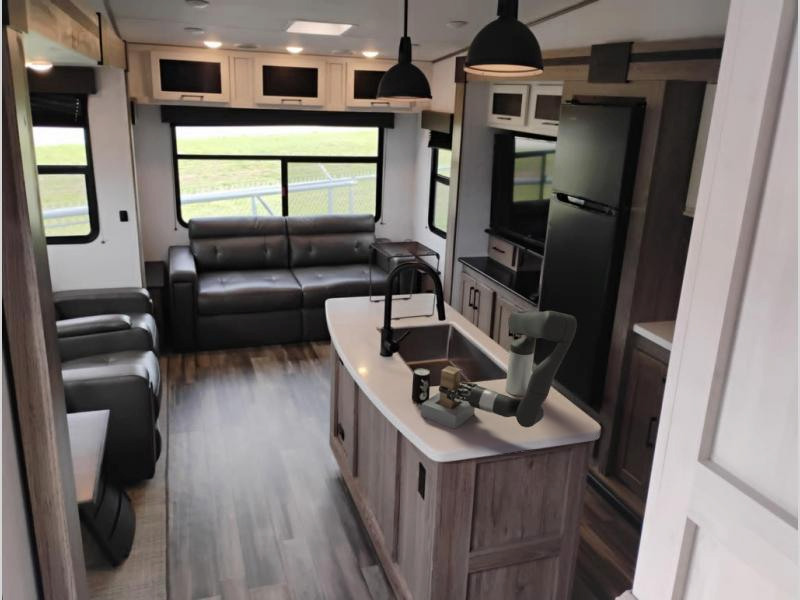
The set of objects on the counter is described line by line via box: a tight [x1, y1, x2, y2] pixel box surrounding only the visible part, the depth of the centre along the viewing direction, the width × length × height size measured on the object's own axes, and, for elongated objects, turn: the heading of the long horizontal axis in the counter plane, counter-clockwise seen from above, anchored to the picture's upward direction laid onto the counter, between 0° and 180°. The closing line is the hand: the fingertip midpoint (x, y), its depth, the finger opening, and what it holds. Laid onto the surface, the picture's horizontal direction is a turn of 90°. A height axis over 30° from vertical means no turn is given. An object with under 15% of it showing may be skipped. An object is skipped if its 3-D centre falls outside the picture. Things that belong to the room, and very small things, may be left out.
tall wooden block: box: [439, 365, 462, 410], centre depth 223 cm, size 5×5×16 cm
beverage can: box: [411, 367, 432, 405], centre depth 234 cm, size 7×7×12 cm
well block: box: [420, 391, 476, 429], centre depth 225 cm, size 14×14×5 cm
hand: (443, 385), depth 224 cm, fingers closed on tall wooden block, 5 cm apart
